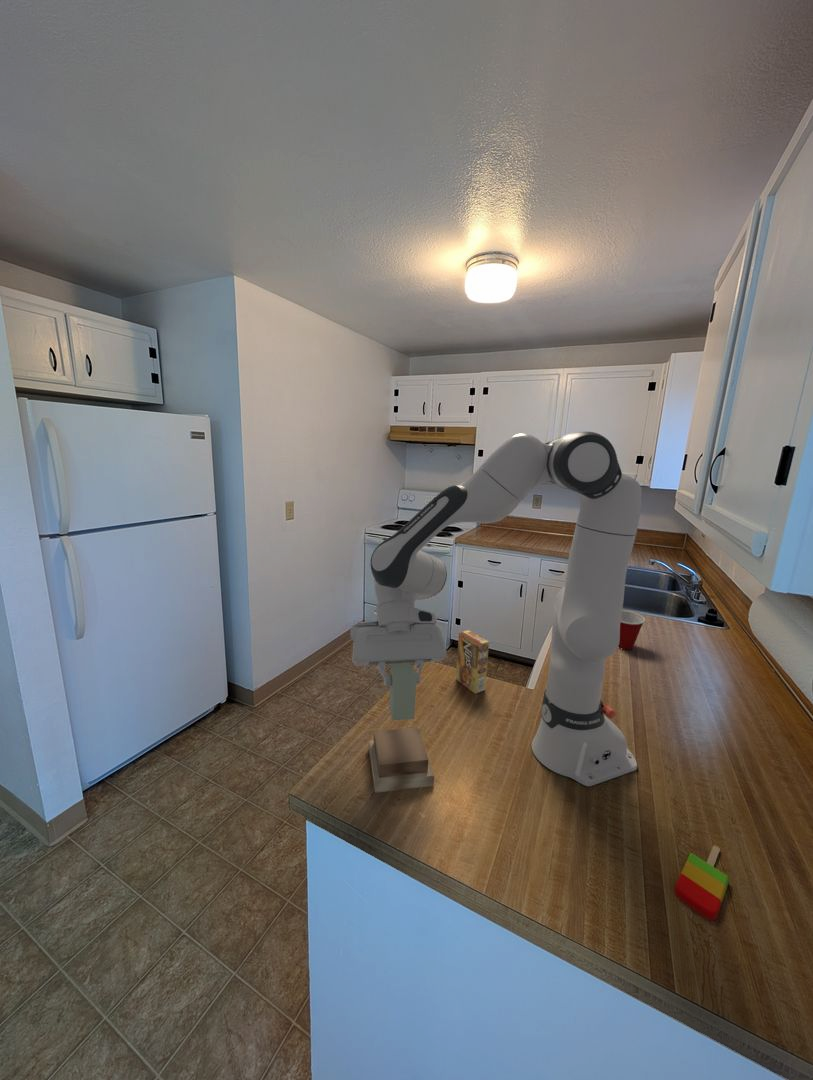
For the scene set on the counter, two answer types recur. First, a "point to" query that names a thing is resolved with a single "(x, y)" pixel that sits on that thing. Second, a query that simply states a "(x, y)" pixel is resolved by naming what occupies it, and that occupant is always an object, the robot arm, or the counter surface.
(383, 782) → the tower base
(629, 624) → the plastic cup
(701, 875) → the popsicle
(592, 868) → the counter surface
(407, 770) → the tower top
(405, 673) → the green block
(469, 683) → the candy box
